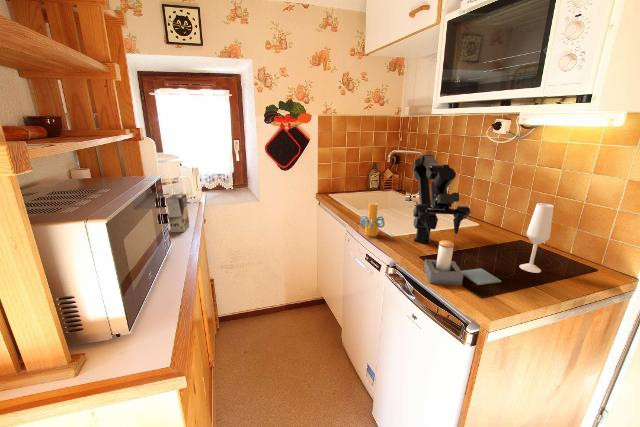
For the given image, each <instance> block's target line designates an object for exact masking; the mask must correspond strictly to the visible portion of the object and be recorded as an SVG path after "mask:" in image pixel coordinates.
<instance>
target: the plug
mask: <svg viewBox="0 0 640 427" xmlns="http://www.w3.org/2000/svg"><path fill="white" fill-rule="evenodd" d="M454 247H455V243H454V242H452V241H450V240H446V239H445V240H439V241H438V249H437V250H438V251H437V258H436V260H437V264H436V270H441V271H450V266H451V261H453V260H452V259H453V253H454Z"/></svg>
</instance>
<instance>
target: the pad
mask: <svg viewBox="0 0 640 427" xmlns="http://www.w3.org/2000/svg"><path fill="white" fill-rule="evenodd" d="M461 272H462V273H463V277H465V278H467V279H468V280H469V281H471V282H473V283H474V284H476V285H477V286H482V285H483V286H484V285H491V284H498V283H502V280H501V279H499V278H498V277H496V276H495V275H493V274H491V273H489V272H488V271H486V270H485V269H483V268H473V269H465V270H464V269H463V270H461Z"/></svg>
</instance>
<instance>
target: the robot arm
mask: <svg viewBox="0 0 640 427" xmlns="http://www.w3.org/2000/svg"><path fill="white" fill-rule="evenodd" d="M412 172H413V177H414V178H416V180H417V182H418V183H417V185H418V198H419V199H418V200H419V203H417V204H416V205H415V207H414V209H413V213H412V214H413V217H414V219H413V227H414V229H415V230H416V234H415V237H414V239H413V241H414V242H417V243H423V244H426V245H427V244H430V242H431V241H432V238H431V232H432V230H436V228H437V225H438V221H439V219H438V216H437V215H453V229H454V234H455V235H458V233H459V229H460V225H461V222H462V221H464V220H465V219H467V218H468V217H469V215H470V214H471V208H470V207H469V206H468V205H467V206H466V205H457V206H456V208H452V205H454V204H455V203H458V202H459V201H460V193H459V192H452V193H448V192H449V191H448V188H449V187H450V186H451V184H452V183H453V182H454V180H455V178H456V176H457V173H456V171H455V170H454V169H453V168H452V167H450V165H449V164H442V163H439V162H438V161H437V160H436V158H435V156H434V155H433V154H424V153H423V154H421V155H420V157H419V158H417V159H415V160H414V162H413V164H412ZM430 181H431V183H429V182H430ZM430 193H431V194H430Z"/></svg>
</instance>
